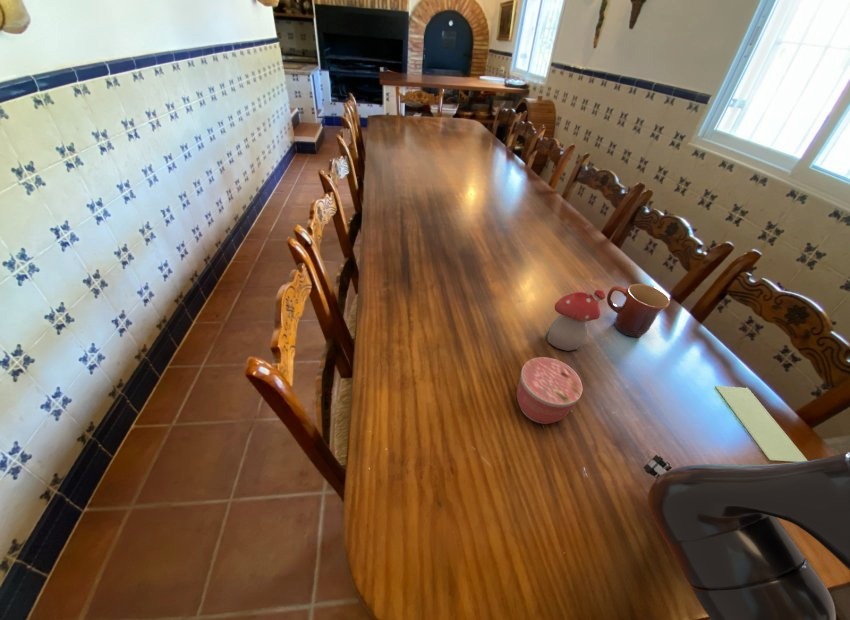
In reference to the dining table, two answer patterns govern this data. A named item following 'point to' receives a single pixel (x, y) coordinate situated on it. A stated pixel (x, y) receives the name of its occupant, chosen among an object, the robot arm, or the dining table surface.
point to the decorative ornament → (574, 319)
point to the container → (547, 390)
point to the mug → (638, 308)
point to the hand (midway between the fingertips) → (697, 498)
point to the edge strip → (761, 425)
